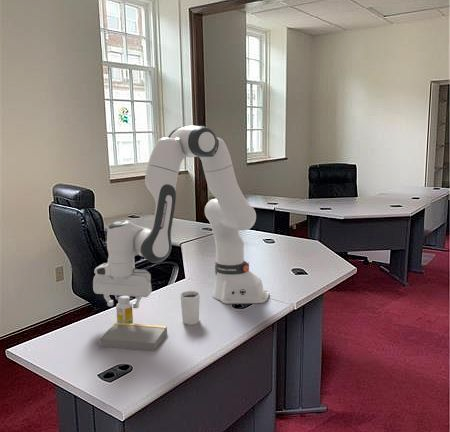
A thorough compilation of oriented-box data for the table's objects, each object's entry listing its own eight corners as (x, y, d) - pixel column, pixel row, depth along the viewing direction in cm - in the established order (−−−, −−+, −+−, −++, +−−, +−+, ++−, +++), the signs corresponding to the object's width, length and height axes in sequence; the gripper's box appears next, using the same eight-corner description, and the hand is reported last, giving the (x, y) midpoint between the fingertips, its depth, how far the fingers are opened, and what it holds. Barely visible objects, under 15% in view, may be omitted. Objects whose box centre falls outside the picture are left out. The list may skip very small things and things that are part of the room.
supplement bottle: (116, 327, 158) (114, 300, 156) (118, 320, 163) (116, 295, 161) (132, 326, 158) (130, 300, 156) (133, 320, 163) (132, 294, 162)
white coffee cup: (186, 316, 166) (185, 289, 164) (203, 318, 164) (202, 292, 162) (178, 323, 160) (177, 296, 158) (195, 326, 158) (194, 298, 156)
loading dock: (167, 333, 152) (166, 326, 152) (154, 350, 141) (154, 342, 140) (116, 329, 156) (115, 322, 155) (100, 345, 144) (99, 337, 144)
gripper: (153, 267, 157) (154, 305, 160) (98, 264, 162) (100, 301, 164) (147, 272, 151) (148, 312, 154) (89, 269, 155) (92, 308, 158)
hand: (123, 306), depth 159 cm, fingers open, 8 cm apart
